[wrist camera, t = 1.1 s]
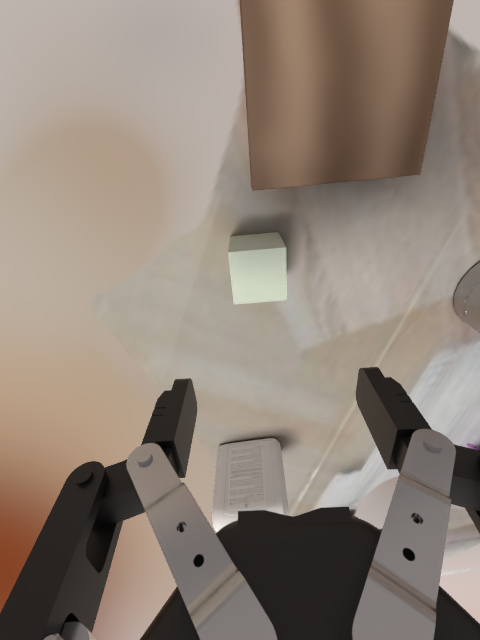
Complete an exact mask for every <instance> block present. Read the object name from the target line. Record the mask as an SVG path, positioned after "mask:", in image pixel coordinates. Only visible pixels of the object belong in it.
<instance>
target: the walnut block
mask: <svg viewBox="0 0 480 640" xmlns="http://www.w3.org/2000/svg"><path fill="white" fill-rule="evenodd" d="M452 5H453V0H240V11H241V30H242V46H243V62H244V76H245V92H246V108H247V124H248V140H249V156H250V172H251V187H252V190H262V189H273V188H283V187H294V186H304V185H315V184H325V183H336V182H346V181H357V180H367V179H378V178H388V177H399V176H409V175H420V173H421V168H422V163H423V157H424V152H425V147H426V142H427V136H428V131H429V126H430V121H431V116H432V110H433V105H434V100H435V95H436V89H437V84H438V79H439V74H440V68H441V63H442V58H443V53H444V48H445V42H446V37H447V32H448V27H449V21H450V16H451V11H452Z"/></svg>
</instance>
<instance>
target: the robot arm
mask: <svg viewBox="0 0 480 640" xmlns="http://www.w3.org/2000/svg"><path fill="white" fill-rule="evenodd" d="M454 309H455V312H456V314H457V315H458V316H459V318H460V319H461V320H463V321H464V322H466V323H467V324H468V325H470V326H471V327H472V328H474V329H475V330H477V331H478V332H479V333H480V262H479V263H478V264H477V265H475V266H474V267H473V268H472V269H471V270H470V271H469V272H468V273H467V274H466V275H465V276H464V277H463V279H462V280H461V282H460V283H459V285H458V287H457V289H456V292H455V295H454ZM356 400H357V404H358V407H359V409H360V411H361V413H362V415H363V417H364V420H365V422H366V424H367V426H368V428H369V430H370V432H371V435H372V437H373V439H374V441H375V443H376V445H377V448H378V450H379V452H380V454H381V456H382V458H383V460H384V463H385V465H386V467H387V469H398V471H399V473H400V475H399V478H398V481H397V484H396V488H395V491H394V494H393V497H392V501H391V504H390V507H389V510H388V513H387V516H386V520H385V523H384V526H383V529H382V531H380V530H379V529H378V528H376V527H374V526H373V525H371V524H370V523H368V522H366V521H363V520H361V519H359V518H356V517H352V516H351V513H350V510H349V507H331V508H319V509H316V510H313V511H310V512H307V513H304V514H301V515H299V516H295V517H292V516H287V515H283V514H279V513H275V512H271V511H266V510H254V511H238V520H237V521H234V522H232V523H230V524H228V525H226V526H224V527H223V528H221V529H220V530H219V531H218V532H217V533H216V534H215V532H214V531H213V529H212V527H211V526H210V524H209V522H208V521H207V519H206V517H205V516H204V514H203V512H202V511H201V509H200V508H199V506H198V504H197V502H196V501H195V499H194V497H193V496H192V494H191V492H190V491H189V489H188V488H187V486H186V485H185V483H182V482H181V481H180V479H179V478H185V475H186V470H187V465H188V459H189V453H190V448H191V443H192V438H193V432H194V427H195V421H196V416H197V401H196V397H195V392H194V388H193V383H192V380H191V379H176V380H175V381H174V384H173V387H172V390H170V391H164V392H163V393H162V395H161V396H160V397H159V398H158V400H157V402H156V405H155V409H154V411H153V413H152V417H151V419H150V422H149V425H148V427H147V430H146V433H145V436H144V439H143V441H142V444H141V446H139V447H138V448H136V449H135V450H134V451H133V452H132V453H131V454H130V455H129V457H128V459H127V460H125V461H122V462H120V463H117V464H114V465H111V466H108V467H105V468H104V466H103V465H102V464H101V463H99V462H95V461H92V462H87V463H85V464H82V465H81V466H79V467H78V468H76V469H75V470H74V471H73V472H72V473H71V474H70V475H69V477H68V478H67V480H66V482H65V484H64V486H63V488H62V490H61V492H60V494H59V496H58V498H57V500H56V502H55V504H54V506H53V508H52V510H51V512H50V514H49V516H48V518H47V520H46V522H45V525H44V526H43V528H42V530H41V532H40V534H39V536H38V538H37V541H36V542H35V545H34V547H33V549H32V551H31V553H30V555H29V557H28V559H27V561H26V563H25V565H24V567H23V569H22V571H21V573H20V575H19V577H18V579H17V581H16V583H15V585H14V587H13V589H12V591H11V593H10V595H9V597H8V599H7V601H6V603H5V605H4V607H3V609H2V611H1V613H0V640H97V638H96V637H95V636H94V635H93V634H92V630H93V627H94V623H95V620H96V616H97V612H98V609H99V605H100V602H101V598H102V595H103V591H104V587H105V584H106V580H107V577H108V573H109V570H110V566H111V562H112V559H113V555H114V552H115V548H116V545H117V541H118V537H119V534H120V530H121V527H122V523H123V520H126V519H129V518H131V517H134V516H136V515H139V514H141V513H144V512H146V514H147V516H148V519H149V521H150V524H151V526H152V528H153V531H154V533H155V535H156V537H157V540H158V542H159V544H160V547H161V549H162V551H163V554H164V556H165V558H166V561H167V563H168V565H169V568H170V570H171V572H172V575H173V577H174V579H175V582H176V584H177V587H176V589H175V590H174V592H173V593H172V595H171V596H170V597H169V599H168V600H167V602H166V603H165V605H164V606H163V607H162V609H161V610H160V612H159V613H158V614H157V616H156V617H155V619H154V620H153V622H152V623H151V624H150V626H149V627H148V629H147V630H146V632H145V633H144V635H143V636H142V637H141V639H140V640H480V624H479V623H478V622H477V621H476V620H475V619H474V618H473V617H472V616H471V615H470V614H469V613H468V612H466V610H465V609H463V608H462V607H461V606H460V605H459V604H458V603H457V602H456V601H455V600H454V599H453V598H452V597H451V596H450V595H449V594H447V592H446V591H444V590H443V589H442V588H441V587H440V586H439V582H440V575H441V568H442V561H443V555H444V549H445V542H446V535H447V528H448V522H449V515H450V508H451V504H454V505H458V506H461V507H465V508H466V510H467V512H468V514H469V515H470V517H471V519H472V521H473V522H474V524H475V526H476V528H477V529H478V531H479V533H480V450H476V449H471V448H466V447H461V446H457V445H454V444H453V443H452V442H451V441H450V440H449V439H448V438H447V437H446V436H444V435H443V434H441V433H439V432H437V431H434V430H432V429H431V427H430V426H429V425H428V423H427V422H426V420H425V419H424V417H423V416H422V415H421V413H420V412H419V410H418V409H417V407H416V406H415V404H414V403H412V400H411V399H410V397H409V396H408V395H407V393H406V392H405V390H404V389H403V387H402V386H401V385H400V384H399V383H398V382H396V381H395V380H394V379H392V378H391V377H388V378H385V377H384V376H383V374H382V373H381V371H380V369H379V368H378V367H369V368H360V369H359V373H358V381H357V388H356Z"/></svg>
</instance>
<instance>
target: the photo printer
mask: <svg viewBox="0 0 480 640" xmlns="http://www.w3.org/2000/svg"><path fill="white" fill-rule="evenodd" d="M254 510H266V511H271V512H275V513H279V514H283V515H287V514H288V502H287V494H286V485H285V477H284V469H283V461H282V453H281V445H280V443H279V441H278V440H276V439H274V438H268V439H259V440H251V441H244V442H237V443H230V444H224V445H221V446H219V447H218V452H217V462H216V473H215V484H214V495H213V506H212V519H213V527H214V529H215V530H216V532H218V531H219V530H220V529H221V528H223V527H224V526H226V525H228V524H230V523H232V522H234V521H237V520H238V511H254Z"/></svg>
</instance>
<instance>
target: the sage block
mask: <svg viewBox="0 0 480 640" xmlns="http://www.w3.org/2000/svg"><path fill="white" fill-rule="evenodd" d="M228 256H229V265H230V274H231V284H232V293H233V302H234V304H244V303H257V302H270V301H283V300H287V280H286V246H285V244H284V242H283V240H282V238H281V236H280V235H279V233H278V232H274V233H262V234H251V235H239V236H230V242H229V249H228Z"/></svg>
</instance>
